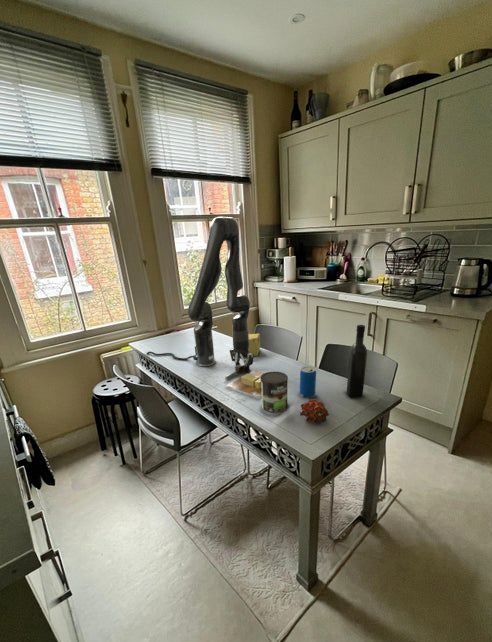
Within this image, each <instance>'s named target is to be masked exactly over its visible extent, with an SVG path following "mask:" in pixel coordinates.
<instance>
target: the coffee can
mask: <svg viewBox="0 0 492 642" xmlns="http://www.w3.org/2000/svg"><path fill="white" fill-rule="evenodd" d="M263 373H264V374H262V375H261V408H262V409H263V410H264V411H265V412H268V413H273V414H276V413H280V414H279V416H282V415H284V414H286V413H287V412H288V380H289V378H288V375H287V373H284V372H281V371H267V372H263Z"/></svg>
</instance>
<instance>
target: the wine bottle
mask: <svg viewBox="0 0 492 642" xmlns="http://www.w3.org/2000/svg"><path fill="white" fill-rule="evenodd" d="M355 331H356V336H355V343H353V344H352V345H351V347H350V350H349V359H348V371H347V383H346V394H347V396H348V398H350V399H361V398H362V397H363V396H364V386H365V379H366V370H367V369H366V368H367V359H368V349H367V347H366V345H365V344H364V338H365V332H366V325H364V324H357V325H356V329H355Z"/></svg>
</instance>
